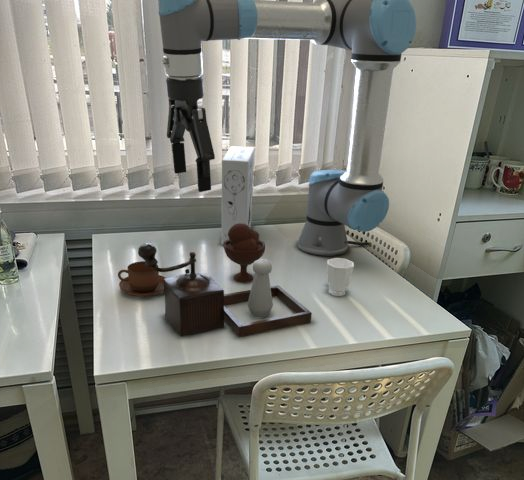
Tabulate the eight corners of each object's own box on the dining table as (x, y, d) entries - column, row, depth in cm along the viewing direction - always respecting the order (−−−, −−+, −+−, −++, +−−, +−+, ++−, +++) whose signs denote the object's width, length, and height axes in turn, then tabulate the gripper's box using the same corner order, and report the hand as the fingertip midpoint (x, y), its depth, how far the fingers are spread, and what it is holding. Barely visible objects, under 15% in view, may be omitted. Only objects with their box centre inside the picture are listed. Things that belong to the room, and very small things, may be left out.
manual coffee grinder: (206, 307, 122) (205, 233, 112) (225, 328, 113) (226, 250, 104) (141, 319, 115) (134, 241, 106) (156, 342, 107) (151, 260, 98)
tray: (277, 294, 130) (278, 285, 128) (310, 322, 118) (311, 312, 116) (210, 305, 122) (210, 296, 121) (238, 337, 110) (239, 326, 109)
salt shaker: (253, 321, 117) (255, 267, 110) (243, 310, 121) (245, 258, 114) (276, 317, 119) (279, 264, 112) (266, 306, 123) (269, 255, 117)
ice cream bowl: (259, 289, 132) (262, 231, 124) (217, 283, 133) (217, 227, 126) (267, 273, 141) (270, 219, 133) (228, 268, 142) (228, 214, 135)
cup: (329, 299, 128) (333, 269, 124) (314, 283, 137) (317, 254, 132) (355, 297, 130) (359, 267, 126) (338, 281, 138) (342, 252, 134)
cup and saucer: (124, 303, 121) (121, 279, 118) (116, 283, 131) (114, 260, 128) (174, 297, 125) (173, 273, 122) (163, 278, 135) (162, 255, 132)
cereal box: (245, 246, 158) (248, 161, 145) (221, 244, 158) (221, 159, 145) (251, 224, 176) (254, 147, 163) (229, 223, 177) (230, 145, 164)
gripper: (145, 68, 111) (156, 168, 124) (192, 89, 94) (199, 202, 107) (177, 65, 114) (185, 163, 127) (228, 85, 97) (232, 195, 110)
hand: (192, 181), depth 117 cm, fingers open, 13 cm apart
